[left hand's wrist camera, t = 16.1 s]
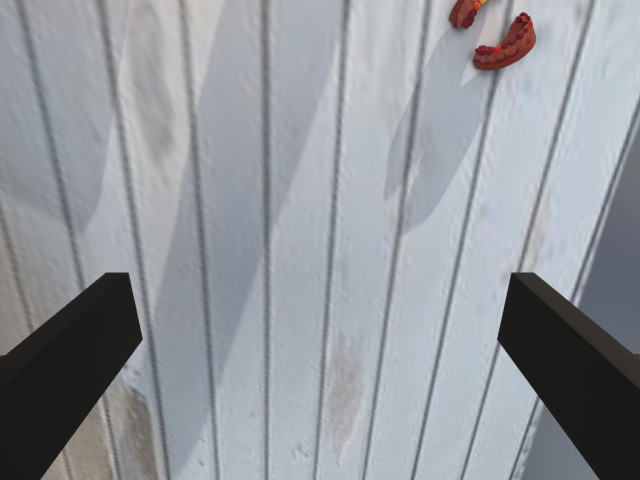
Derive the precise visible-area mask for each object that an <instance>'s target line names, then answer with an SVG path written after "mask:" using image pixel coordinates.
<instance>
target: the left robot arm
mask: <svg viewBox="0 0 640 480" xmlns="http://www.w3.org/2000/svg"><path fill="white" fill-rule="evenodd" d="M142 340H143V338H142V333H141V329H140V324H139V319H138V315H137V310H136V305H135V301H134V296H133V291H132V287H131V282H130V277H129V273H105V274H104V275H103V276H101V277H100V278H99V279H98V280H96V281H95V282H94V283H93V284H92V285H90V286H89V287H88V288H87V289H85V290H84V291H83V292H82V293H81V294H79V295H78V296H77V297H76V298H75V299H73V300H72V301H71V302H70V303H68V304H67V305H66V306H65V307H64V308H62V309H61V310H60V311H59V312H57V313H56V314H55V315H54V316H53V317H51V318H50V319H49V320H48V321H46V322H45V323H44V324H43V325H42V326H40V327H39V328H38V329H37V330H36V331H34V332H33V333H32V334H31V335H29V336H28V337H27V338H26V339H25V340H23V341H22V342H21V343H20V344H18V345H17V346H16V347H15V348H14V349H12V350H11V351H10V352H9V353H7V354H6V355H2V356H0V480H40V479H41V478H42V477H43V475H44V474H45V473H46V471H47V470H48V468H49V467H50V466H51V464H52V463H53V462H54V460H55V459H56V457H57V456H58V455H59V453H60V452H61V451H62V449H63V448H64V447H65V445H66V444H67V442H68V441H69V440H70V438H71V437H72V436H73V434H74V433H75V431H76V430H77V429H78V427H79V426H80V425H81V423H82V422H83V421H84V419H85V418H86V416H87V415H88V414H89V412H90V411H91V410H92V408H93V407H94V405H95V404H96V403H97V401H98V400H99V399H100V397H101V396H102V395H103V393H104V392H105V390H106V389H107V388H108V386H109V385H110V384H111V382H112V381H113V380H114V378H115V377H116V375H117V374H118V373H119V371H120V370H121V369H122V367H123V366H124V364H125V363H126V362H127V360H128V359H129V358H130V356H131V355H132V354H133V352H134V351H135V349H136V348H137V347H138V345H139V344H140V343H141V341H142ZM497 340H498V341H499V343H500V344H501V345H502V347H503V348H504V349H505V351H506V352H507V354H508V355H509V356H510V358H511V359H512V360H513V362H514V363H515V364H516V366H517V367H518V369H519V370H520V371H521V373H522V374H523V375H524V377H525V378H526V380H527V381H528V382H529V384H530V385H531V386H532V388H533V389H534V390H535V392H536V393H537V395H538V396H539V397H540V399H541V400H542V401H543V403H544V404H545V405H546V407H547V408H548V410H549V411H550V412H551V414H552V415H553V416H554V418H555V419H556V421H557V422H558V423H559V425H560V426H561V427H562V429H563V430H564V431H565V433H566V434H567V436H568V437H569V438H570V440H571V441H572V442H573V444H574V445H575V446H576V448H577V449H578V451H579V452H580V453H581V455H582V456H583V457H584V459H585V460H586V462H587V463H588V464H589V466H590V467H591V468H592V470H593V471H594V472H595V474H596V475H597V477H598V478H599V479H600V480H640V355H639V354H633V353H631V352H630V351H629V350H628V349H626V348H625V347H624V346H623V345H622V344H620V343H619V342H618V341H617V340H615V339H614V338H613V337H612V336H611V335H609V334H608V333H607V332H606V331H604V330H603V329H602V328H601V327H600V326H598V325H597V324H596V323H595V322H593V321H592V320H591V319H590V318H589V317H587V316H586V315H585V314H584V313H583V312H581V311H580V310H579V309H578V308H576V307H575V306H574V305H573V304H572V303H570V302H569V301H568V300H567V299H565V298H564V297H563V296H562V295H561V294H559V293H558V292H557V291H556V290H555V289H553V288H552V287H551V286H550V285H548V284H547V283H546V282H545V281H544V280H542V279H541V278H540V277H539V276H537V275H536V274H535V273H511V277H510V282H509V287H508V291H507V296H506V301H505V305H504V310H503V315H502V319H501V324H500V329H499V333H498V338H497Z"/></svg>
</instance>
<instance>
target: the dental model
mask: <svg viewBox="0 0 640 480" xmlns="http://www.w3.org/2000/svg"><path fill="white" fill-rule="evenodd" d="M486 1H487V0H458V1H457V2H456V4H455V6H454V7H453V9H452V11H451V14H450V17H449V20H450V21H451V23H452V24H453V25H454V26H455V27H456V26H457V27H462V26H463V28H464V29H467V28H468V27H469V26H471V25H472V23H473V21H474V15H475V16H476V14H477V10H478V9H480V8H481V4H484V3H485V2H486ZM479 2H480V3H479ZM535 42H536V35H535V31H534V28H533V23H532V21H531V18H530V16H528V15H527V13H524V12H522V13H521V14H520V15H519V16H517V17H516V20H515V21H514V22H513V24H512V25H511V29H510V31H509V33H508V35H507V37H506V38H505V39H504V41H503V42H502V43H500V44H499V45H498V46H496V47H495V48H494V47H486V46H485V45H483V46H479V48H477V49H475V52H476V54H475V57H474V59H473V62H474V64H475V67H476V68H477V69H480V70H496V69H499V68H503V67H506V66H508V65H511V64H513V63H515V62H516V61H518V60H520V59H521V58H523V57H524V56H525V55H526V54H527V53H529V51H530V50H531V49H532V48H533V46H534V45H535Z"/></svg>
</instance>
